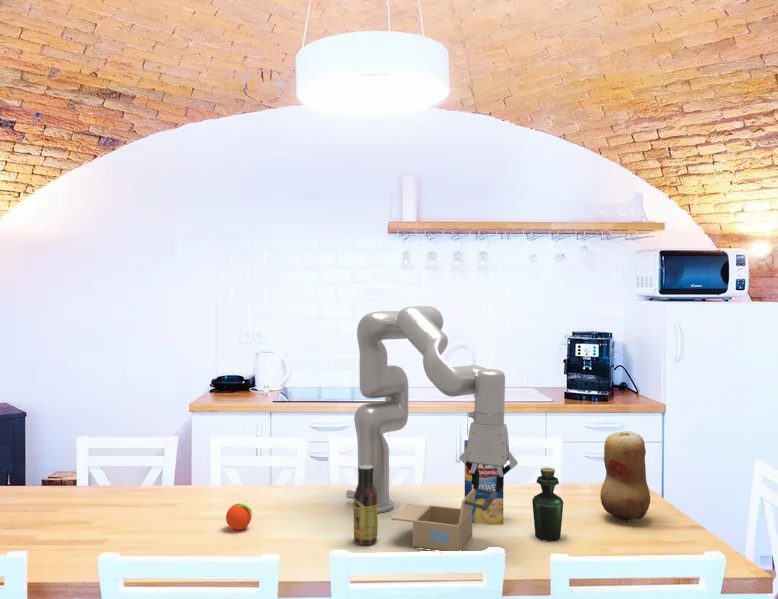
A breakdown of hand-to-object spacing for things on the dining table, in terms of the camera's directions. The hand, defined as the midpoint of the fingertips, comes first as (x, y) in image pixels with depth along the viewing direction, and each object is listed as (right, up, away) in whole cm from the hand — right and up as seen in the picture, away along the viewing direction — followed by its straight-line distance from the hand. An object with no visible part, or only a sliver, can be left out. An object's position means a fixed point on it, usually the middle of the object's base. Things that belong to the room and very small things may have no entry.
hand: (487, 488), depth 171 cm
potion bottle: (+17, -15, +7) cm, 24 cm away
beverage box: (+2, -15, +21) cm, 26 cm away
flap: (-5, -4, +2) cm, 7 cm away
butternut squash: (+43, -15, +21) cm, 50 cm away
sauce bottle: (-31, -15, +4) cm, 35 cm away
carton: (-14, -15, +5) cm, 21 cm away
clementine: (-66, -15, +14) cm, 69 cm away
